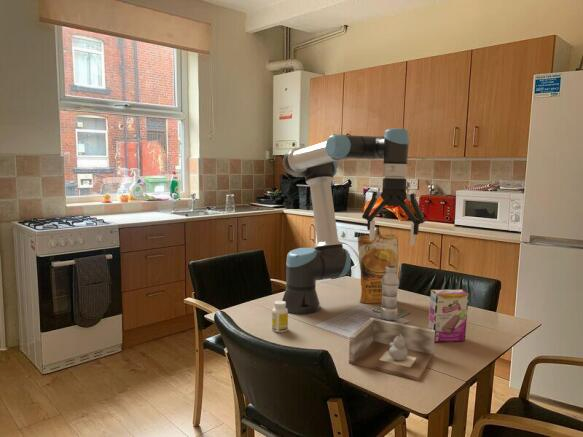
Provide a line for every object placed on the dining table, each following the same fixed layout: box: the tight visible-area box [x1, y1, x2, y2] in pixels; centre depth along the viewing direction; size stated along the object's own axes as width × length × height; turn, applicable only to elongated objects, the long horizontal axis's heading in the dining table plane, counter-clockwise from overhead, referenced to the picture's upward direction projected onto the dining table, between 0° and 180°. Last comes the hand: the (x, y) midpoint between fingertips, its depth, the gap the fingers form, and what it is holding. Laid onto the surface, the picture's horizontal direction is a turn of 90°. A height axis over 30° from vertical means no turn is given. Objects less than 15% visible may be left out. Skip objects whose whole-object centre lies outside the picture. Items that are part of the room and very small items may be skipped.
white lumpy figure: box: [389, 334, 408, 361], centre depth 126 cm, size 5×7×8 cm
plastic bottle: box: [379, 266, 400, 322], centre depth 160 cm, size 6×7×20 cm
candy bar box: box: [427, 289, 470, 343], centre depth 143 cm, size 11×5×16 cm, turn 97°
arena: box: [348, 317, 435, 382], centre depth 128 cm, size 20×18×8 cm
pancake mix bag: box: [357, 234, 399, 304], centre depth 182 cm, size 7×19×28 cm, turn 103°
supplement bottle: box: [271, 300, 289, 333], centre depth 149 cm, size 5×5×10 cm
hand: (391, 242), depth 143 cm, fingers open, 13 cm apart
